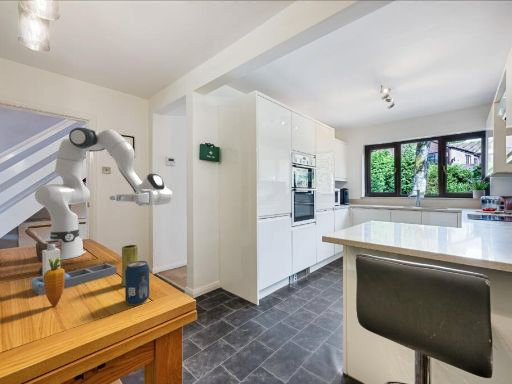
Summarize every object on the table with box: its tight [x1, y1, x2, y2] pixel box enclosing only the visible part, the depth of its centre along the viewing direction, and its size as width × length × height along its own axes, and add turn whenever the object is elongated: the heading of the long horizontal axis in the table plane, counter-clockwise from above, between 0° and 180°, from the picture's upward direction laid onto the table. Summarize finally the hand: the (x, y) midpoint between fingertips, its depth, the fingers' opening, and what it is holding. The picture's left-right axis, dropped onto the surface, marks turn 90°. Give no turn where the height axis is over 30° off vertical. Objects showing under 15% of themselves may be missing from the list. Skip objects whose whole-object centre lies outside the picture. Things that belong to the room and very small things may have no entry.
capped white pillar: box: [41, 244, 61, 283], centre depth 85 cm, size 4×4×16 cm
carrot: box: [44, 258, 66, 307], centre depth 72 cm, size 5×5×15 cm
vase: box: [120, 244, 139, 288], centre depth 89 cm, size 6×6×14 cm
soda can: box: [124, 260, 150, 306], centre depth 75 cm, size 7×7×12 cm
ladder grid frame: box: [30, 262, 118, 297], centre depth 92 cm, size 9×25×4 cm, turn 146°
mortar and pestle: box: [24, 227, 62, 275], centre depth 102 cm, size 12×9×20 cm
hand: (115, 198), depth 109 cm, fingers open, 8 cm apart
